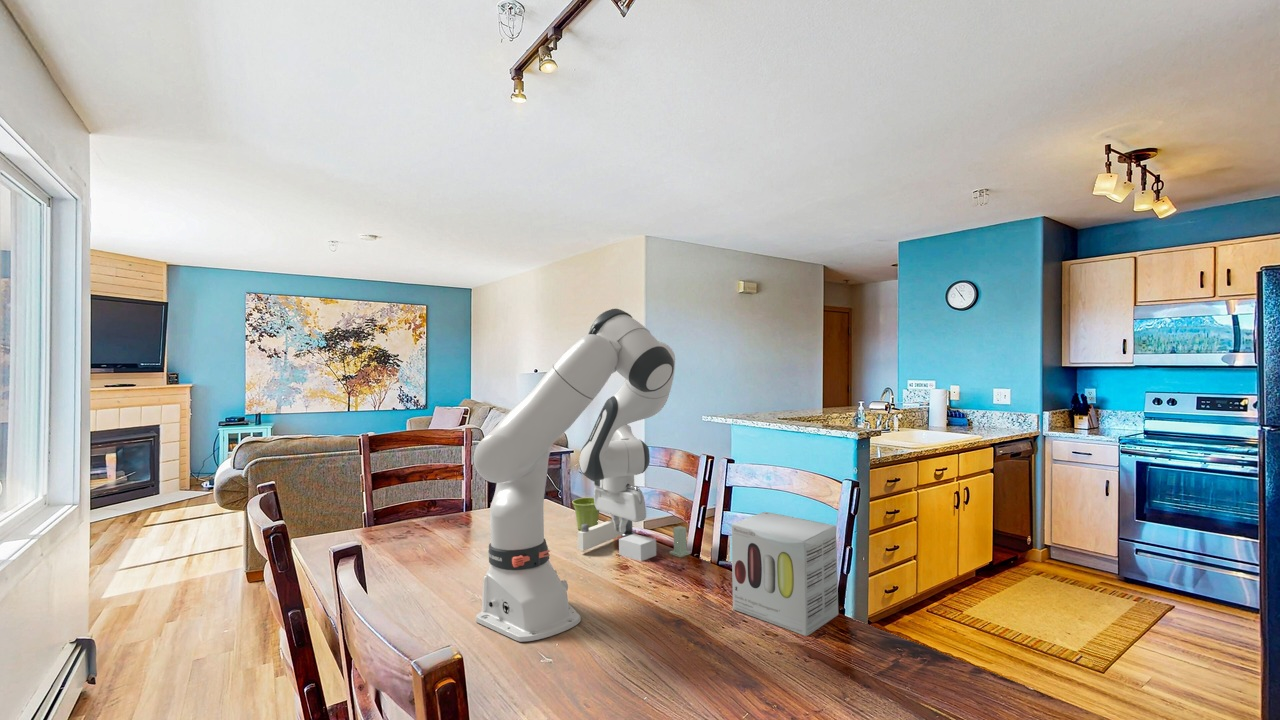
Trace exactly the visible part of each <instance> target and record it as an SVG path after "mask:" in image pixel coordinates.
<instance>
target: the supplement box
mask: <svg viewBox="0 0 1280 720" xmlns="http://www.w3.org/2000/svg"><path fill="white" fill-rule="evenodd" d="M837 548H838V547H837V526H836V525H835V524H831V523H830V524H829V523H826V522H825V523H824V522H819V521H814V520H811V519H810V520H809V519H804V518H801V517H800V518H799V517H794V516H789V515H784V514H779V513H775V512H774V513H773V512H768V511H764V512H761V513H757V514H754V515H751V516H748V517H746V518H742V519H741V520H738V521H735V522H733V523H731V565H732V567H731V569H732V573H731V575H732V576H731V577H732V579H731V580H732V582H731V583H732V610H733V611H737V612H740V613H743V614H745V615H748V616H750V617H753V618H755V619H757V620H761V621H764V622H767V623H770V624H772V625H775V626H778V627H780V628H783V629H784V630H785V629H786V630H788V631H792V632H794V633H797V634H799V635H801V636H805V637H808V636H809V635H811V634H813V633H814V632H816V630H818V629H820V628H821V627H823V626H824V625H826V624H827V623H829V622H831V620H833V619H834V618H836V617H838V616H839V592H838V591H839V589H838V554H837V553H838V552H837V551H838V549H837Z"/></svg>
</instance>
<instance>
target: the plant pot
mask: <svg viewBox="0 0 1280 720" xmlns="http://www.w3.org/2000/svg"><path fill="white" fill-rule="evenodd" d="M571 504H573V508H574V511H575V519H576V526H577V530H579V531H581V525H582V524H588V525H589V528H590V527H593V526H595V525H598V524H599V518H600V515H599V514H600V511H599V510H597V509H596V507H595V504H594V497H581V498H576V499H575V498H574V499H573V500H572V501H571ZM597 521H598V522H597Z"/></svg>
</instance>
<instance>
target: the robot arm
mask: <svg viewBox="0 0 1280 720" xmlns="http://www.w3.org/2000/svg"><path fill="white" fill-rule="evenodd" d="M675 370H676V355H675V352H674V350H673V349H672V348H671V347H670V346H669V345H668V344H666V343H664V342H663V341H659V340H657V338H656V337H655V336H654V335H653V334H652V333H651V331H650V330H649V329H648V328H647V327H646V326H644V325H643V324H642V323H640V321H638V320H637V319H635V318H633V316H632V315H631V314H629V313H628V312H626V311H625V310H622V309H619V308H612V309H611V308H610V309H609V310H605V311H603V312H602V313H601V314H599V315H598V316H597V317H596V319H595V320H594V321H593V323H592V325H591V326H590V328H589V332H588V334H584V336H581V337H580V338H579V339H578V340H576V341H575V342H574V343H573V344H572V345H570V347H569V348H567V349H566V350H565V351H564V352H563V354H562V355H561V356H560V357H559V358H558V359H557V360H556V361H555V362H554V363H553V364H552V366H551V367H550V368H549V369H548V370H547V372H546V373H544V375H543V376H542V378H540V380H538V383H537V384H536V385H535V386H534V387H533V389H531V391H529V393H528V394H527V395H526V396H525V397H524V398H523V399H522V400H520V402H518V403H517V404H516V405H515V406H514V407H513V408H512V409H511V410H510V411H509V412H508V413H507V414H506V415H505V416H504V417H503V418H502V419H501V420H500V421H499V422H498V423H497V424H496V425H495V426H494V427H493V428H492V429H491V430H490V431H489V433H487V434H486V435H485V436H484V437H483V438H482V439H481V440H480V441H479V442H478V443H477V445H476V447H475V449H474V451H473V452H474V453H473V465H474V468H475V471H476V472H477V473H478V475H479V476H480V477H481V478H482V479H484V480H485V481H487V482H489V483H494V484H495V489H494V490H495V491H494V495H493V497H492V501H491V503H490V508H489V518H490V519H489V520H490V521H489V524H490V526H489V527H490V531H489V532H490V543H489V544H488V552H487V556H488V563H489V564H490V565H489V566H488V570H487V572H486V574H485V575H484V577H483V583H482V597H481V599H482V600H481V601H482V602H481V611H479V613H477V614H476V616H475V622H476V623H478V624H480V625H481V626H484V627H486V628H488V629H491V630H493V631H495V632H497V633H499V634H501V635H504V636H506V637H508V638H510V639H512V640H515V641H516V642H525V643H526V642H532V641H538V640H542V639H545V638H549V637H553V636H555V635H558V634H560V633H564V632H565V631H567V630H570V629H571V628H574V627H575V626H577V625H578V624H579V623H580V622H581V621H582V617H581V615H580V614H579V612H578V611H577V610H576V609H574V607H572V605H571V604H570V603H569V598H568V589H569V585H568V582H567V580H566V579H563V580H561V579H560V576H559V575H558V572H557V570H556V569H554V567H553V565H552V564H551V562H550V553H549V552H550V551H551V550H549V547H548V544H547V541H546V538H545V533H544V532H545V530H544V529H545V524H544V522H545V521H544V520H545V519H544V518H545V517H544V515H545V513H544V512H545V511H544V506H545V505H544V501H545V500H544V499H545V491H546V485H547V479H548V478H547V477H548V471H549V470H548V469H549V457H550V454H551V451H552V445H553V444H554V443H555V442H557V440H558V439H559V438H561V437H562V435H564V433H565V432H566V431H567V430H569V428H570V427H571V426H572V425H573V424H574V423H575V421H577V419H578V418H579V417H580V416H581V415H582V413H583V412H584V411H585V410H586V409H587V407H588V406H589V405H590V404H591V403H592V402H593V401H594V399H595V398H596V397H597V396H598V395H599V393H600V392H601V390H602V389H604V387H605V385H606V383H608V380H609V379H610V378H611V376H612V374H614V373H619V375H621V376H622V378H624V379H625V381H624V382H623V383H622V385H621V386H620V388H619V390H618V391H617V392H616V393H614V394H613V395H612V396H611V397H609V398H607V400H606V401H605V403H604V404H603V406H602V408H601V410H600V412H599V414H598V417H597V420H596V421H595V424H594V426H593V428H592V430H591V432H590V434H589V437H588V439H587V440H586V442H585V444H584V445H583V446H582V448H581V450H580V452H579V457H578V461H579V464H578V465H579V469H580V473H581V474H582V475H583V476H585V477H586V478H587V479H589V480H590V481H591V482H592V485H593V486H594V488H593V498H594V504H595V507H596V509H597V510H599V512H604V513H606V514H609V515H610V516H611V519H612V520H613V523H614V526H615V531H618V532H621V533H623V532H625V531H626V524H627V522H628V520H630V521H632V523H633V522H634V523H639V522H642V521H645V520H646V518H647V509H646V500H645V497H644V494H643V491H642V490H641V488H640V486H637V485H635V476H637V475H641V474H644V472H645V471H646V470H647V469H648V467H649V465H650V460H651V458H650V455H651V454H650V448H649V446H648V445H647V444H646V443H645V442H644V441H643V440H641V439H638V438H637V437H636V436H635V435H634V434H633V432H632V427H631V426H630V424H631V423H632V424H633V423H634V422H637V421H642V420H645V419H648V418H651V417H653V416H656V415H657V414H659V412H661V411H662V410H663V408H664V407H665V405H666V404H667V402H668V400H669V399H668V398H669V396H670V392H671V389H672V386H673V381H674V376H675Z"/></svg>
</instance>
